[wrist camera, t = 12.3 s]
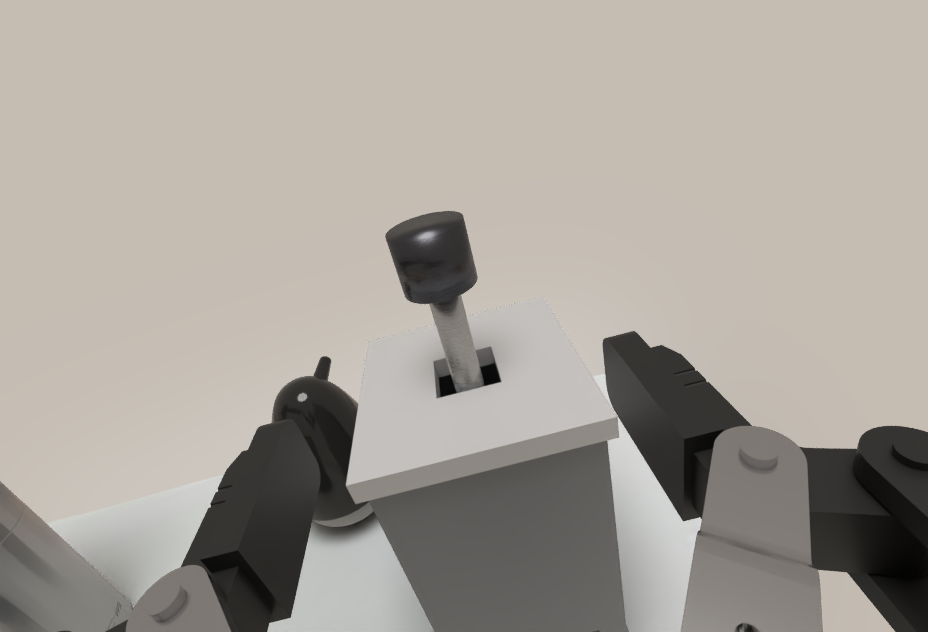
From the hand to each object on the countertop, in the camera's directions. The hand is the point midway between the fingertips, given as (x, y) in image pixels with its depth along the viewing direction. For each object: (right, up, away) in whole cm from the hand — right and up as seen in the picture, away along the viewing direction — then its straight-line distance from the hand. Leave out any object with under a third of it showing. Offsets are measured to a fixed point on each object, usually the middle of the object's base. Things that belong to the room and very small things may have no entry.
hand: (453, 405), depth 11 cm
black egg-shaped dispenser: (-11, -16, +34) cm, 40 cm away
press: (+5, -18, +24) cm, 30 cm away
